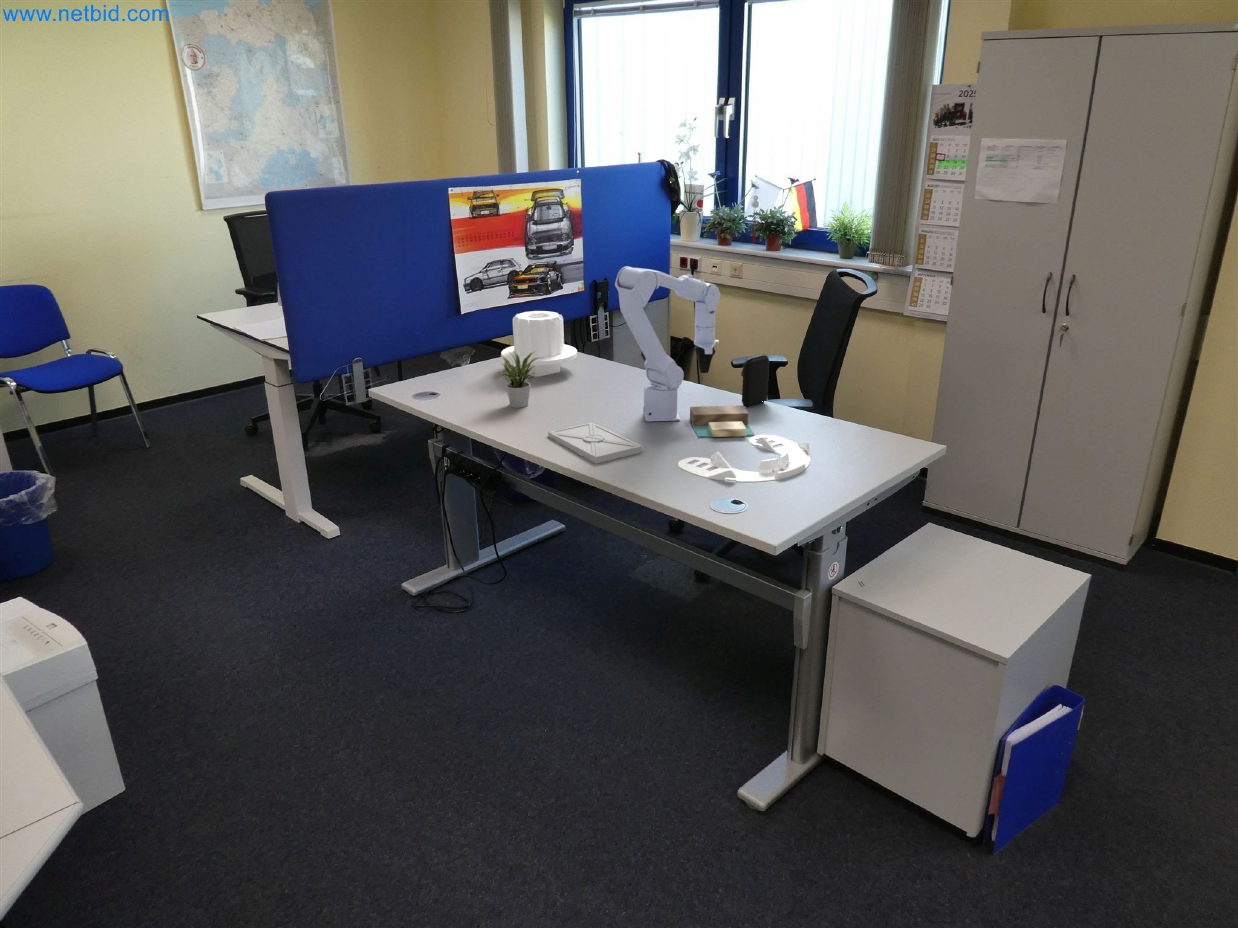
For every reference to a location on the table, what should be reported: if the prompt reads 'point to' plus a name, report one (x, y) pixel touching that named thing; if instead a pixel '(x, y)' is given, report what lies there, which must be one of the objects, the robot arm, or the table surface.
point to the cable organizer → (788, 453)
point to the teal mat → (704, 432)
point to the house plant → (518, 381)
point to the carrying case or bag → (755, 381)
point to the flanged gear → (539, 342)
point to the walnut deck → (717, 414)
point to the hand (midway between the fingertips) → (704, 372)
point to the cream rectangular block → (727, 429)
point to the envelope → (595, 442)
